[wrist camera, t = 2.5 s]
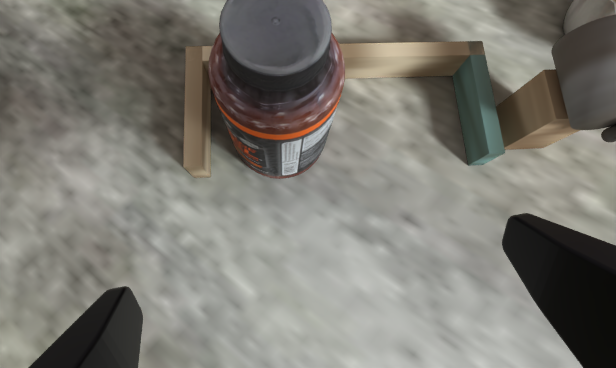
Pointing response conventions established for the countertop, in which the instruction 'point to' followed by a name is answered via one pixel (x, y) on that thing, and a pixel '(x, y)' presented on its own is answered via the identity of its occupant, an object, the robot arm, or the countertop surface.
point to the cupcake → (587, 12)
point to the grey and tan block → (566, 91)
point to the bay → (369, 64)
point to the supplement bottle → (277, 81)
